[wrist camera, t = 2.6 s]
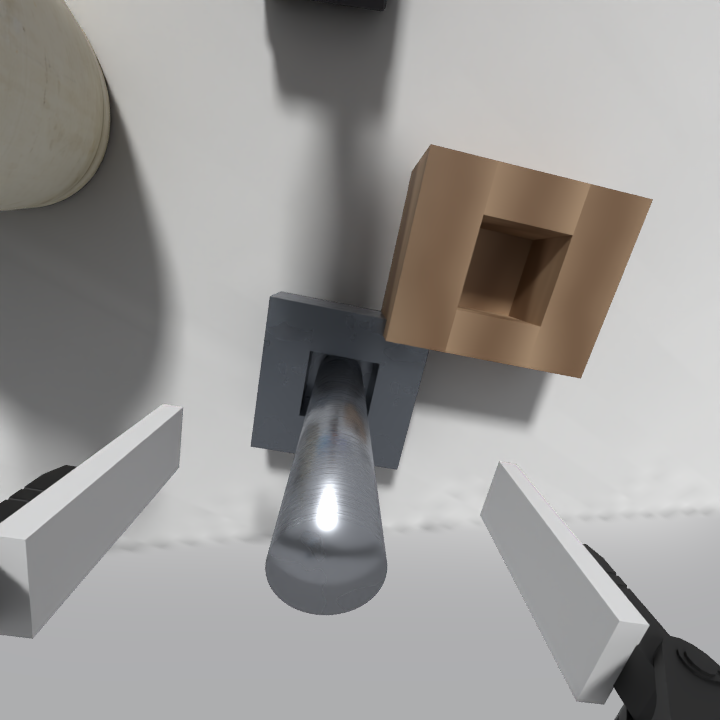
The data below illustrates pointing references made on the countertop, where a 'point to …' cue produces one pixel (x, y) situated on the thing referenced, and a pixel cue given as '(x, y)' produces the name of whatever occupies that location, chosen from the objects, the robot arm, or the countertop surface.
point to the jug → (48, 105)
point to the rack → (507, 262)
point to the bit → (330, 503)
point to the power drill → (359, 3)
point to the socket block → (307, 351)
